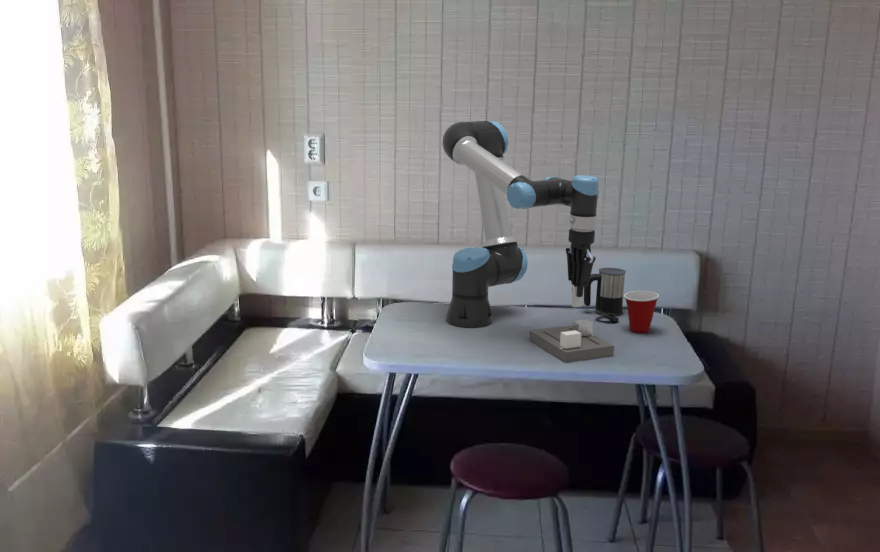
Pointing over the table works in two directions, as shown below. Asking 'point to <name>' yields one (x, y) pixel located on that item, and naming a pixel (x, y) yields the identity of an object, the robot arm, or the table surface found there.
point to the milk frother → (607, 292)
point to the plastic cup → (640, 309)
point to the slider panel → (588, 349)
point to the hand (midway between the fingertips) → (576, 306)
